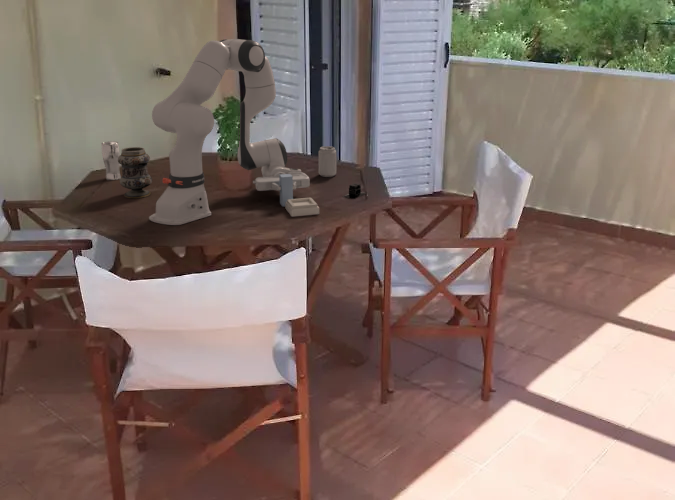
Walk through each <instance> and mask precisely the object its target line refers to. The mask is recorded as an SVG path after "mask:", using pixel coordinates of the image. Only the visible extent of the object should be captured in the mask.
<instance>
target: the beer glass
mask: <svg viewBox="0 0 675 500" xmlns="http://www.w3.org/2000/svg"><path fill="white" fill-rule="evenodd" d="M101 154H102V160H103V163H104V168H105V179H106V180H107V181H118V180H120V178H121V177H122V176H121V175H122V174H121V172H120V164H119V162H118V157H119V156H120V155H121V153H120V146H119V141H115V140H113V141H111V140H110V141H103V142H101Z"/></svg>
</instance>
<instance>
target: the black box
mask: <svg viewBox="0 0 675 500" xmlns="http://www.w3.org/2000/svg"><path fill="white" fill-rule="evenodd" d="M348 186H349V187H348V193H347V194H345V195H343V196H342V197H343V198H345V199H346V198H347V199H353V200H356V199H357V198H360V197H362V196H364V195H366V194H367V192H364V191H363V192H362V191H361V190H362V187H361V186H362V185H361V184H360V183H352V184H350V185H348Z"/></svg>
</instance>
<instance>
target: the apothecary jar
mask: <svg viewBox="0 0 675 500" xmlns="http://www.w3.org/2000/svg"><path fill="white" fill-rule="evenodd" d="M150 159H151V158H150V156H149V154H148V153H146V149H145V148H144V147H141V146H131V147H130V146H129V147H124V148H122V149H121V153H120V156H119V157H118V162H119V165H121V172H122V173H121V175H122V176H121V178H120V179H119V184H120V185H121V186H122V187H123V188H125V189H129V190H128V191H127V192H125V193H124V197H125V198H127V199H140V198H141V199H142V198H146V197H149V196H150V195H151V193H152V192H151V191H149V190H146V189H144V188H147V187H149V186H150V185H151V184H152V182H153V178H152V176H151V175H150V174H149V171H148V170H149V169H148V163H149V162H150V161H151V160H150Z"/></svg>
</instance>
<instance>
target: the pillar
mask: <svg viewBox="0 0 675 500" xmlns="http://www.w3.org/2000/svg"><path fill="white" fill-rule="evenodd" d="M279 182H280V185H281V191H279V204H280V205H281V207H285V202H287V199H294V190H293V177H292V175H291V174H281V175H279Z"/></svg>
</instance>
